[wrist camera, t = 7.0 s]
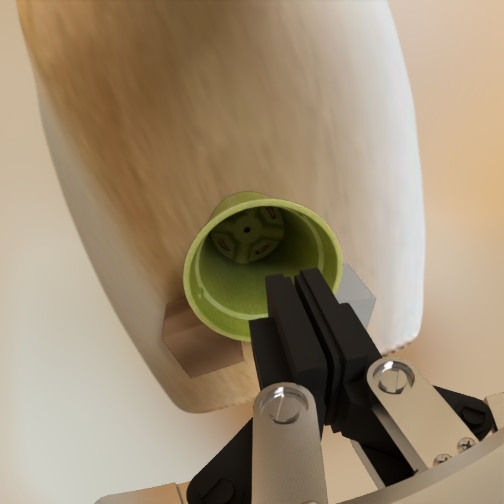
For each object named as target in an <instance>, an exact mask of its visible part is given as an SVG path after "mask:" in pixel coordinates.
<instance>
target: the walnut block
mask: <svg viewBox="0 0 504 504" xmlns="http://www.w3.org/2000/svg"><path fill="white" fill-rule="evenodd" d="M162 340H163V342H164V343H165V344H166V346H167V347H168V349H169V350H170V351H171V353H172V354H173V355H174V357H175V358H176V359H177V361H178V362H179V363H180V365H181V366H182V367H183V369H184V370H185V371H186V373H187V374H188V375H189V377H190V378H193V377H196V376H199V375H203V374H206V373H209V372H212V371H215V370H218V369H221V368H224V367H227V366H230V365H233V364H236V363H239V362H242V361H244V357H243V351H242V345H241V341H240V340H235V339H232V338H229V337H226V336H224V335H221V334H219V333H217V332H215V331H214V330H212V329H211V328H209V327H208V326H207V325H206V324H204V323H203V322H202V321H201V320H200V319H199V318H198V317H197V316H196V314H195V313H194V311H193V310H192V308H191V306H190V305H189V303H188V300H187V298H186V297H184V298H181V299H178V300H176V301H173V302H171V303H168V304H167V306H166V312H165V319H164V325H163V332H162Z"/></svg>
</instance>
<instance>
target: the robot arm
mask: <svg viewBox="0 0 504 504" xmlns="http://www.w3.org/2000/svg"><path fill="white" fill-rule="evenodd" d="M265 285H266V296H267V308H268V317H265V318H259V319H253V320H248V322H249V330H250V337H251V344H252V350H253V356H254V361H255V366H256V371H257V376H258V381H259V386H260V391H261V392H260V393H259V394H258V395H257V397H256V398H255V401H254V406H253V417H252V418H251V419H250V420H249V421H248V423H247V424H246V425H245V426H244V427H243V428H242V429H241V430H240V431H239V432H238V433H237V434H236V436H234V437H233V439H232V440H231V441H230V442H229V443H228V444H227V445H226V446H225V447H224V448H223V449H222V450H221V451H220V452H219V453H218V454H217V455H216V456H215V457H214V458H213V459H212V460H211V461H210V462H209V463H208V464H207V465H206V466H205V467H204V468H203V469H202V470H201V471H200V472H199V473H198V474H197V475H196V476H195V477H194V478H193V479H192V480H191V481H189V482H185V483H181V484H177V485H176V483H170V484H166V485H161V486H157V487H152V488H147V489H142V490H137V491H131V492H125V493H119V494H113V495H107V496H104V497H102V498H100V499H99V500H98V501H97V502H95V504H328V498H327V489H326V481H325V472H324V465H323V456H322V448H321V439H322V433H323V426H324V425H325V426H327V425H331V428H332V431H333V433H337V432H340V431H341V433H342V436H344V437H346V438H349V439H350V441H351V443H352V446H353V448H354V450H355V451H356V453H357V455H358V456H359V458H360V460H361V461H362V463H363V465H364V466H365V468H366V469H367V471H368V473H369V475H370V476H371V478H372V480H373V481H374V483H375V485H376V486H377V488H378V491H375V492H372V493H369V494H366V495H363V496H360V497H357V498H354V499H351V500H347V501H344V502H341V503H337V504H504V392H502V393H499V394H495V395H491V396H488V397H486V398H485V399H484V400H483V401H482V400H479V399H477V398H474V397H471V396H467V395H464V394H460V393H457V392H453V391H450V390H447V389H443V388H440V387H437V386H433V385H431V384H430V383H429V381H428V380H427V379H426V378H425V377H424V376H423V374H422V373H421V372H420V371H419V370H418V369H417V368H416V367H415V366H414V365H413V364H412V363H411V362H409V361H407V360H405V359H403V358H398V357H385V358H382V356H381V354H380V353H379V351H378V349H377V348H376V346H375V344H374V343H373V341H372V339H371V338H370V336H369V334H368V333H367V331H366V329H365V328H364V326H363V324H362V323H361V321H360V319H359V318H358V316H357V315H356V313H355V311H354V310H353V308H352V307H351V305H350V304H349V303H347V302H345V303H341V304H339V302H338V301H337V299H336V297H335V296H334V294H333V292H332V291H331V289H330V287H329V285H328V284H327V282H326V280H325V279H324V277H323V275H322V274H321V272H320V270H319V269H318V268H317V267H316V268H310V269H304V270H300V272H299V275H295V276H294V284H293V282H292V280H291V278H290V277H284V275H283V273H279V274H273V275H266V276H265Z"/></svg>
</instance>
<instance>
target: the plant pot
mask: <svg viewBox="0 0 504 504" xmlns="http://www.w3.org/2000/svg"><path fill="white" fill-rule="evenodd" d="M265 206H270V207H271V208H272V210H273V211H274V213H275V216H276V217H275V219H273V218H272V216H271V215H270V213H269V211H268V210H267V209H266V208H265ZM246 227H250V232H248V233H247V232H245V231H244V229H245V228H246ZM220 238H222V240H223V242H224V243H225V245H226V246H227V247H228V248H229V249H230V251H229V250H226V249H224V248H223V247H222V246H221V245H220V243H219V241H218V239H220ZM267 243H269V245H270V246H269V247H268V248H267V249H265V250H264V251H263V252H262V253H260V254H256V251H257V250H259V249H261V248H262V247H264V246H265V245H266V244H267ZM316 267H317V268H318V269H319V270H320V272H321V274H322V275H323V277H324V279H325V280H326V282H327V284H328V285H329V287H330V289H331V291H332V292H333V294H334V296H335V294H336V292H337V290H338V287H339V284H340V281H341V276H342V269H343V260H342V252H341V249H340V245H339V242H338V240H337V238H336V236H335V234H334V233H333V231H332V230H331V228H330V227H329V226H328V225H327V223H326V222H325V221H324V220H323V219H321V218H320V217H319V216H318V215H317V214H315V213H314V212H313V211H311V210H309V209H308V208H306V207H304V206H302V205H299V204H297V203H294V202H291V201H287V200H282V199H273V198H269V197H267V196H266V195H263V194H261V193H256V192H240V193H236V194H233V195H231V196H229V197H227V198H226V199H224V200H223V201H222V202H221V203H220V204H219V205H218V206H217V207H216V209H215V210H214V212H213V214H212V216H211V219H210V221H209V222H208V223H207V224H206V225H205V226H204V227H203V228H202V229H201V231H200V232H199V233H198V234H197V236H196V237H195V239H194V241H193V242H192V244H191V246H190V248H189V251H188V253H187V256H186V260H185V264H184V271H183V285H184V291H185V295H186V298H187V300H188V303H189V305H190V306H191V308H192V310H193V311H194V313H195V314H196V316H197V317H198V318H199V319H200V320H201V321H202V322H203V323H204V324H206V325H207V326H208V327H209V328H211V329H212V330H214V331H215V332H217V333H219V334H221V335H224V336H226V337H229V338H232V339H235V340H240V341H247V342H251V337H250V330H249V322H248V320H253V319H259V318H265V317H268V308H267V296H266V285H265V276H266V275H273V274H279V273H283V275H284V277H290V278H291V280H292V282H293V284H294V276H295V275H299V272H300V270H304V269H310V268H316Z"/></svg>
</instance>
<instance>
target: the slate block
mask: <svg viewBox="0 0 504 504" xmlns="http://www.w3.org/2000/svg"><path fill="white" fill-rule="evenodd" d="M335 297H336V299H337V301H338V302H339V304H341V303H345V302H347V303H349V304H350V305H351V307H352V308H353V310H354V311H355V313H356V315H357V316H358V318H359V319H360V321H361V323H362V324H363V326H364V328H365V329H366V330H367V327H368V323H369V320H370V317H371V314H372V311H373V308H374V304H375V301H376V297H375V296H374V295H373V294H372V292H371V291H370V290H369V289H368V287H367V286H366V285H365V284H364V282H363V281H362V280H361V279H360V277H359V276H358V275H357V274H356V273H355V271H354V270H353V269H352V268H351V267H350V265H349V264H343V269H342V276H341V281H340V284H339V287H338V290H337V292H336V294H335Z"/></svg>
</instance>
